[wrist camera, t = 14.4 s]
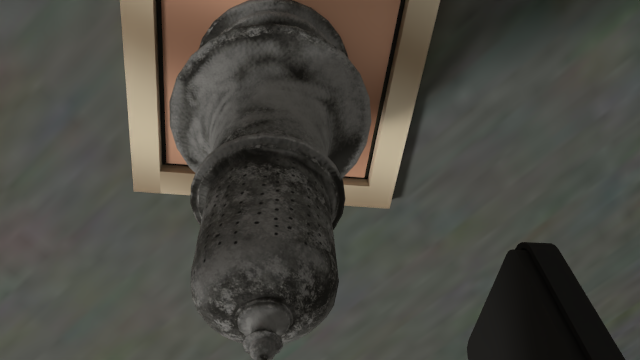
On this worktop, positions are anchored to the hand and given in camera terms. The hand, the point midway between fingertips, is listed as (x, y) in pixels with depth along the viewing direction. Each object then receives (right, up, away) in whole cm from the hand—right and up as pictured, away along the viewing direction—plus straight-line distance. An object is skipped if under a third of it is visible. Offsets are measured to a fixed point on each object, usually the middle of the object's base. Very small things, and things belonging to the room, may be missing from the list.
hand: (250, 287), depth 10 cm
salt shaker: (0, +6, +9) cm, 11 cm away
